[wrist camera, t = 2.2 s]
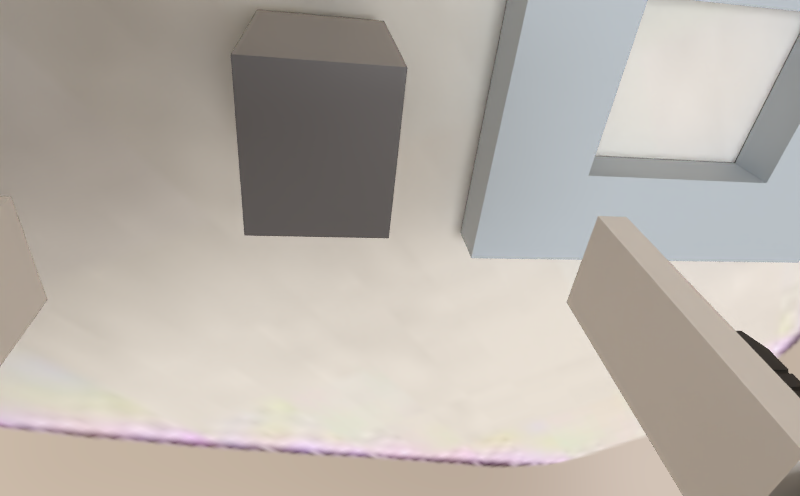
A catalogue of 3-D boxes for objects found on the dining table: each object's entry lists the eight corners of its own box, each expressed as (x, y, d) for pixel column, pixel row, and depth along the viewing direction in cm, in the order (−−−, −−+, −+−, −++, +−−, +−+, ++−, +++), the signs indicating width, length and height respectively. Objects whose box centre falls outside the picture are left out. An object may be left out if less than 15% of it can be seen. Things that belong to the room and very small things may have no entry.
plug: (266, 139, 25) (244, 235, 18) (261, 3, 21) (230, 53, 14) (370, 145, 25) (388, 238, 18) (380, 14, 22) (407, 67, 15)
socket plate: (460, 232, 29) (471, 258, 27) (542, -176, 19) (568, -185, 17) (768, 239, 32) (798, 262, 30) (973, -107, 22) (1039, -108, 20)
